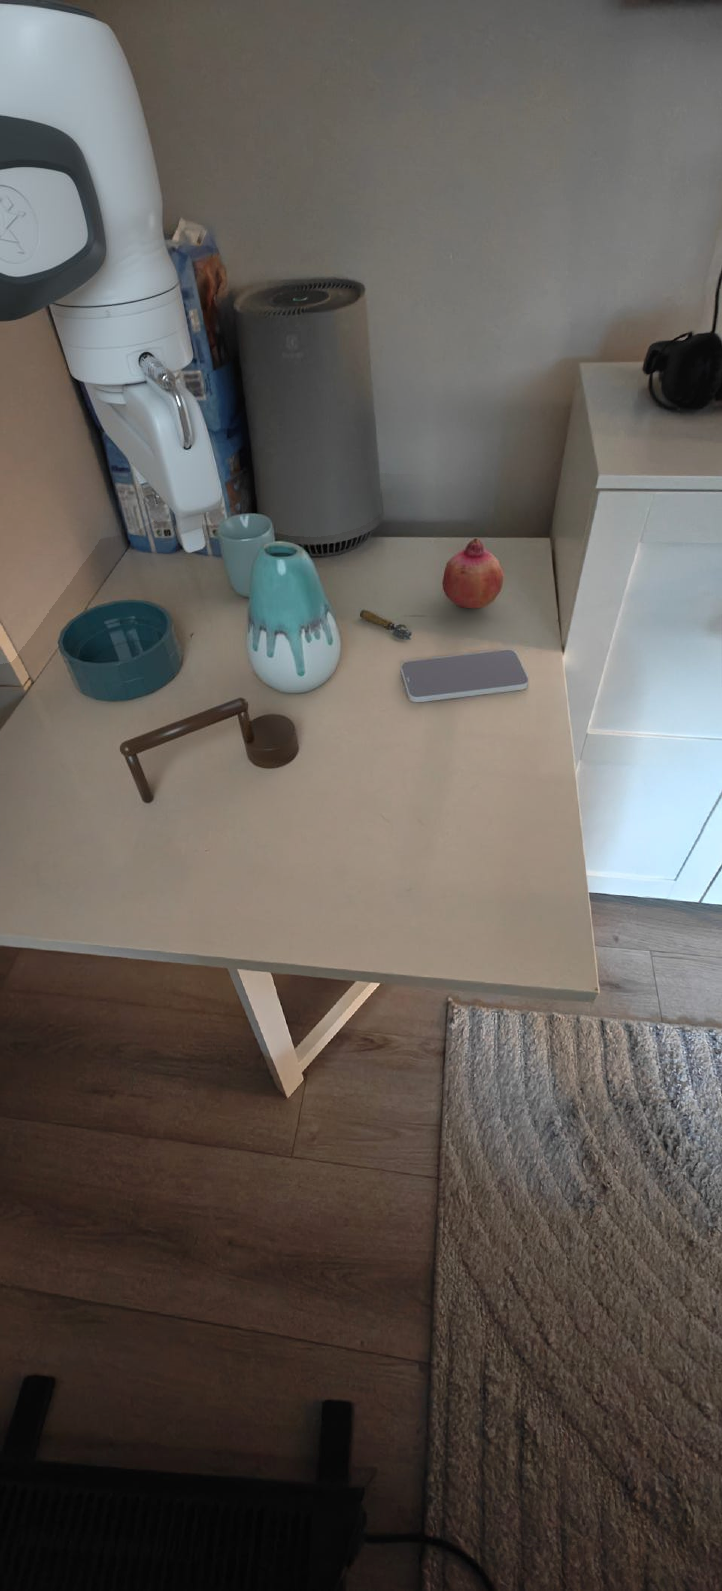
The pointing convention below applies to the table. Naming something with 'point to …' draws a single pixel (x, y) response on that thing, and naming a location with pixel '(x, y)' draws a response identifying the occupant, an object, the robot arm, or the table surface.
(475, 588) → the fruit
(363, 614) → the can opener
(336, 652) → the vase
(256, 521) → the cup
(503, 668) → the smartphone
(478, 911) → the table surface
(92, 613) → the bowl
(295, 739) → the ladle
